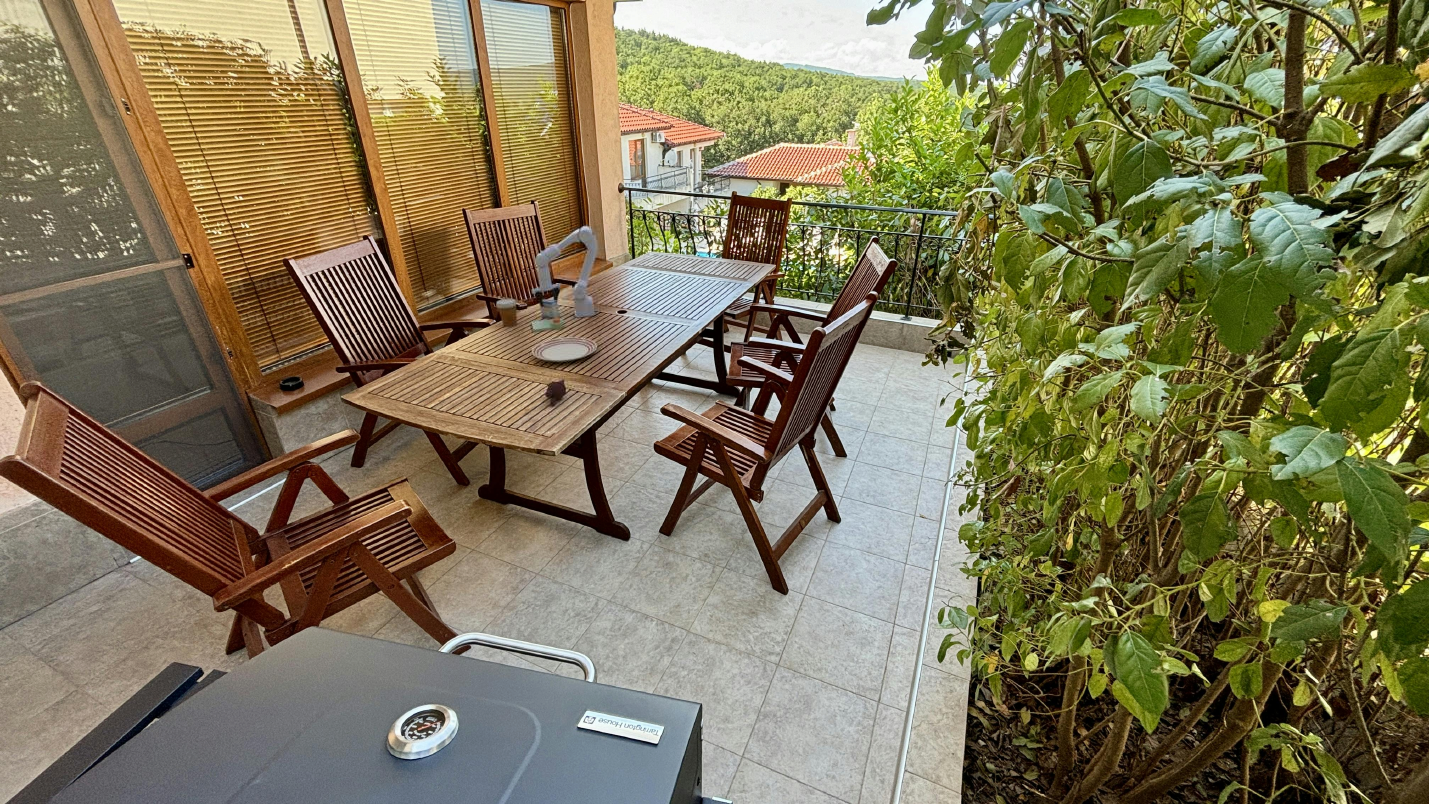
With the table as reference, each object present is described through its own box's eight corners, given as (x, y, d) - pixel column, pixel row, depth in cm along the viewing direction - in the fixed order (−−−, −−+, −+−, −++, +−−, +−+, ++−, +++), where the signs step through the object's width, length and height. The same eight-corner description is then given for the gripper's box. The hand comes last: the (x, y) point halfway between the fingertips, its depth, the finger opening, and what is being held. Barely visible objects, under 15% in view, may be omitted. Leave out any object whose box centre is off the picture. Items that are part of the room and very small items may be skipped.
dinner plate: (575, 338, 276) (574, 331, 275) (610, 353, 259) (609, 346, 257) (521, 355, 259) (519, 348, 258) (554, 372, 242) (553, 365, 240)
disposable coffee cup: (523, 321, 299) (519, 298, 293) (515, 328, 290) (511, 304, 285) (505, 321, 300) (500, 298, 294) (497, 327, 291) (492, 304, 286)
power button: (559, 320, 290) (559, 317, 290) (560, 322, 288) (559, 319, 287) (553, 321, 290) (552, 318, 289) (553, 323, 287) (553, 320, 286)
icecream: (551, 373, 225) (535, 394, 213) (568, 370, 223) (553, 390, 211) (558, 389, 229) (543, 410, 216) (575, 385, 227) (561, 407, 214)
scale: (561, 320, 299) (560, 314, 297) (564, 328, 288) (563, 322, 287) (531, 324, 295) (530, 318, 293) (533, 332, 284) (532, 326, 283)
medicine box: (541, 317, 304) (539, 301, 300) (547, 314, 307) (544, 298, 303) (554, 319, 301) (552, 302, 297) (559, 316, 305) (557, 299, 301)
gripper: (534, 282, 288) (538, 309, 294) (561, 277, 296) (565, 303, 302) (528, 279, 293) (532, 306, 299) (555, 274, 301) (559, 300, 307)
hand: (548, 304), depth 301 cm, fingers open, 7 cm apart
